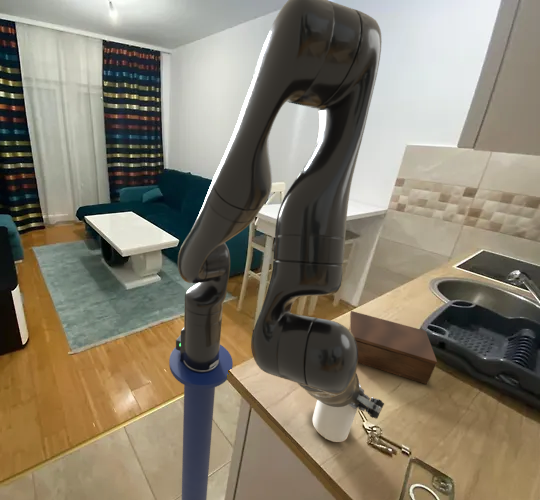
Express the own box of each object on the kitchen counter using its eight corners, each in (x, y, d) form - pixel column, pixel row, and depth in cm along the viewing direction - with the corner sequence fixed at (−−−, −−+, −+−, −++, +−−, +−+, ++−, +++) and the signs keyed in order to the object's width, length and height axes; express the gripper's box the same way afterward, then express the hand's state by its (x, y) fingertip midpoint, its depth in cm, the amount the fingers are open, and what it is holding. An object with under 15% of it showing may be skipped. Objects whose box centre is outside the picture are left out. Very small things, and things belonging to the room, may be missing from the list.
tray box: (347, 359, 74) (352, 340, 72) (348, 331, 84) (353, 314, 82) (427, 384, 67) (435, 364, 65) (417, 351, 77) (424, 333, 75)
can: (304, 421, 58) (316, 375, 53) (325, 407, 61) (338, 363, 56) (334, 450, 52) (349, 402, 48) (354, 433, 56) (371, 387, 51)
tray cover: (349, 338, 72) (350, 335, 72) (350, 313, 82) (351, 310, 82) (436, 364, 65) (437, 361, 64) (424, 333, 75) (425, 330, 75)
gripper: (394, 382, 38) (394, 397, 50) (295, 330, 48) (315, 353, 60) (369, 434, 37) (376, 438, 49) (273, 370, 47) (297, 385, 59)
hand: (342, 391), depth 54 cm, fingers closed on can, 6 cm apart
